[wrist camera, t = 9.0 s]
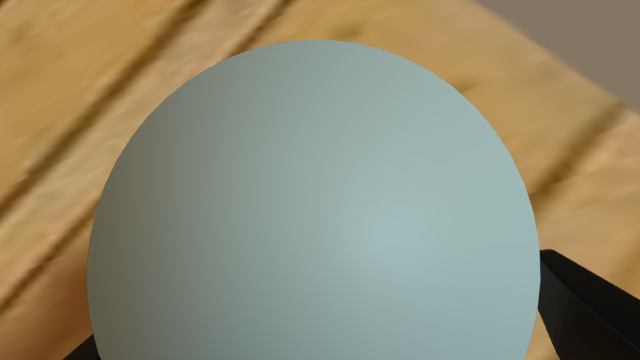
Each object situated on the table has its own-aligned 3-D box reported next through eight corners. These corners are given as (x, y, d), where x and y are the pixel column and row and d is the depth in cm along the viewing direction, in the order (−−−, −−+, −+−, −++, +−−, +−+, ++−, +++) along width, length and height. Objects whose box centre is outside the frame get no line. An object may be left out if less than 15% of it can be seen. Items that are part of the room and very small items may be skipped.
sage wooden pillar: (338, 356, 16) (226, 633, 4) (269, 250, 18) (24, 197, 5) (441, 278, 16) (659, 298, 4) (363, 180, 18) (343, -30, 5)
